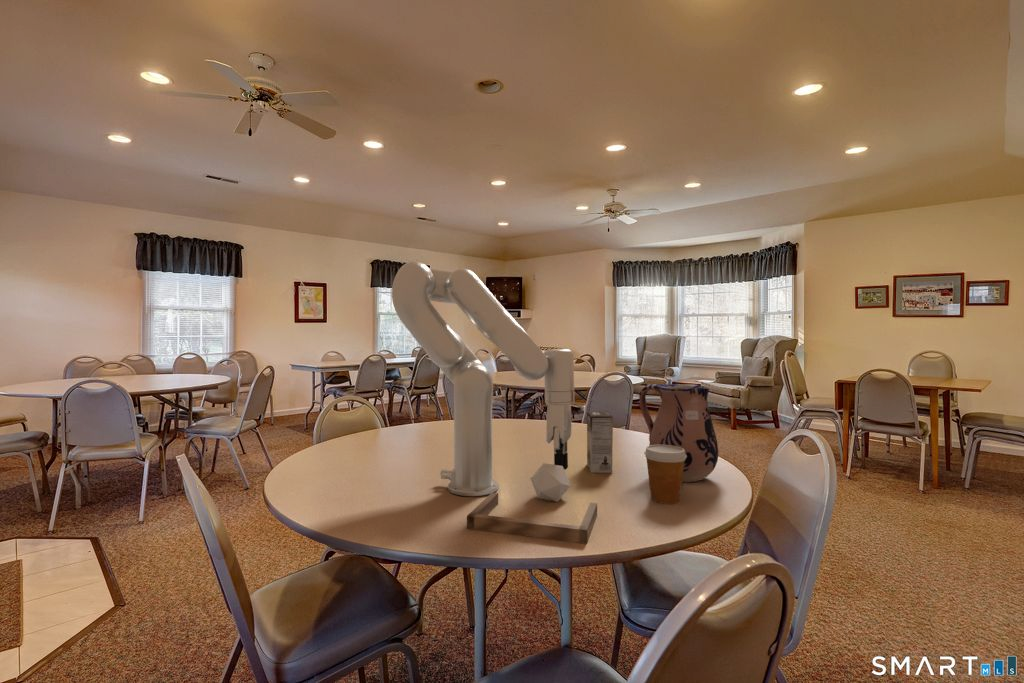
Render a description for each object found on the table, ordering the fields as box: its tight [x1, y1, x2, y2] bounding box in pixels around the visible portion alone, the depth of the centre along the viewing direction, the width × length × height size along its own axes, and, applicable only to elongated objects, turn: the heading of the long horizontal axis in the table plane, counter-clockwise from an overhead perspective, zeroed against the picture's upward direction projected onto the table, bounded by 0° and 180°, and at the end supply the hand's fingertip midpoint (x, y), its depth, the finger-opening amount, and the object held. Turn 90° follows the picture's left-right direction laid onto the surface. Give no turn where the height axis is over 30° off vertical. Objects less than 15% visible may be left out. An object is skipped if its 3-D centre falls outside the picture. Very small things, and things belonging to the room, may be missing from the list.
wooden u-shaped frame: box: [466, 492, 598, 545], centre depth 101 cm, size 24×15×2 cm, turn 73°
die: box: [530, 462, 571, 503], centre depth 115 cm, size 8×9×10 cm
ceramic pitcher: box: [638, 383, 719, 483], centre depth 132 cm, size 18×21×25 cm
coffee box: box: [586, 410, 614, 474], centre depth 140 cm, size 9×6×16 cm
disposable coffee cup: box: [644, 445, 687, 505], centre depth 114 cm, size 10×10×12 cm
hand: (561, 468), depth 125 cm, fingers closed
